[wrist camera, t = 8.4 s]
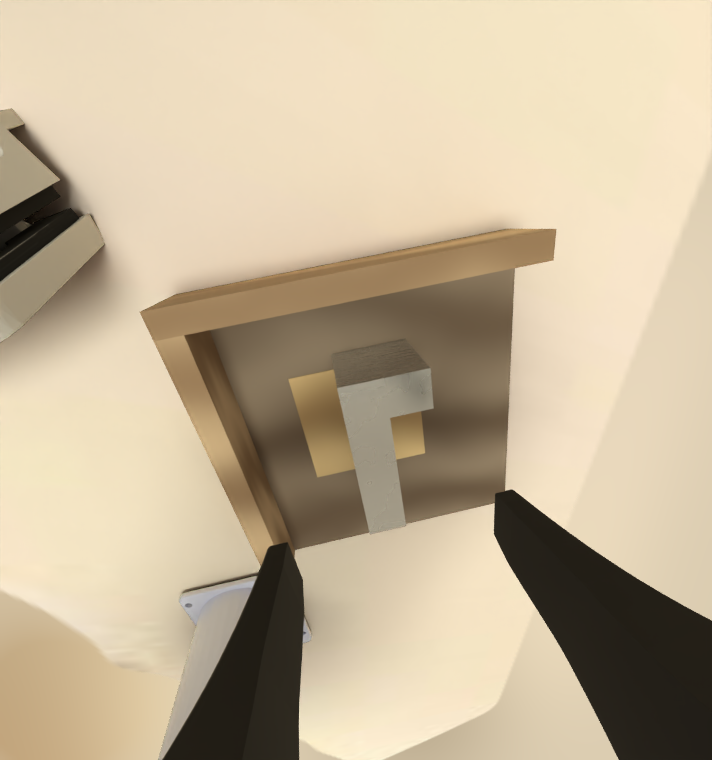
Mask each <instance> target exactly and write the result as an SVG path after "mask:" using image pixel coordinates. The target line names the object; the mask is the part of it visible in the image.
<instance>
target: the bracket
mask: <svg viewBox="0 0 712 760" xmlns="http://www.w3.org/2000/svg"><path fill="white" fill-rule="evenodd" d="M331 355H332V361H333V367H334V373H335V379H336V385H337V390H338V394H339V399H340V403H341V408H342V412H343V417H344V421H345V426H346V430H347V435H348V439H349V443H350V448H351V452H352V457H353V461H354V466H355V470H356V475H357V479H358V483H359V488H360V492H361V497H362V501H363V506H364V510H365V515H366V519H367V524H368V528H369V532H370V534H373V533H378V532H382V531H386V530H390V529H395V528H399V527H403V526H406V522H405V515H404V508H403V502H402V495H401V488H400V481H399V475H398V468H397V461H396V455H395V448H394V441H393V434H392V428H391V421H390V418H392V417H397V416H401V415H406V414H410V413H415V412H420V411H424V410H429V409H433V408H434V407H433V394H432V381H431V368H430V367H429V366H428V365H427V363H426V362H425V361H424V360H423V359H422V358H421V356H420V355H419V354H418V353H417V352H416V351H415V350H414V348H413V347H412V346H411V345H410V344H409V343H408V341H407V340H406V339H402V340H397V341H392V342H388V343H383V344H378V345H373V346H369V347H364V348H359V349H354V350H350V351H345V352H340V353H335V354H331Z"/></svg>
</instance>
